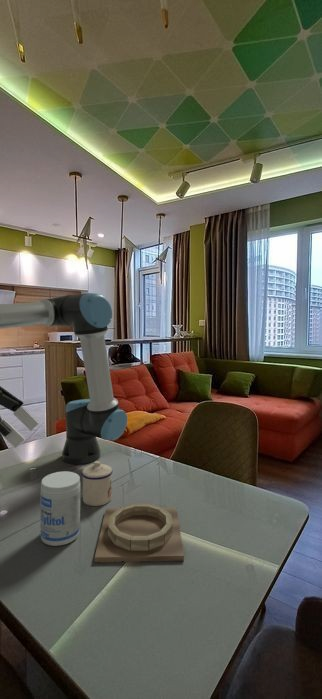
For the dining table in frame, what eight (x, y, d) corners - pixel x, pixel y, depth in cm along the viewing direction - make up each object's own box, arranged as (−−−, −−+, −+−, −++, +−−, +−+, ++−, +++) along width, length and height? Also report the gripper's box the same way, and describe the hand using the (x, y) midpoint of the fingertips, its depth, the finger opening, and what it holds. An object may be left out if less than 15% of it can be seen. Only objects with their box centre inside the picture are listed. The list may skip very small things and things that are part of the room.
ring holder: (105, 512, 94) (105, 500, 94) (176, 511, 95) (176, 499, 95) (94, 562, 74) (94, 546, 74) (183, 560, 75) (184, 545, 75)
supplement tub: (35, 548, 79) (33, 488, 78) (47, 524, 89) (46, 470, 88) (76, 547, 80) (75, 487, 79) (84, 524, 89) (83, 470, 88)
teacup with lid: (115, 504, 99) (115, 465, 98) (84, 509, 96) (83, 470, 95) (107, 485, 110) (107, 451, 110) (79, 490, 107) (79, 454, 106)
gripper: (-26, 376, 92) (29, 430, 94) (-79, 391, 67) (-1, 464, 69) (-6, 358, 92) (49, 412, 95) (-50, 366, 67) (26, 439, 70)
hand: (28, 434), depth 82 cm, fingers open, 13 cm apart
